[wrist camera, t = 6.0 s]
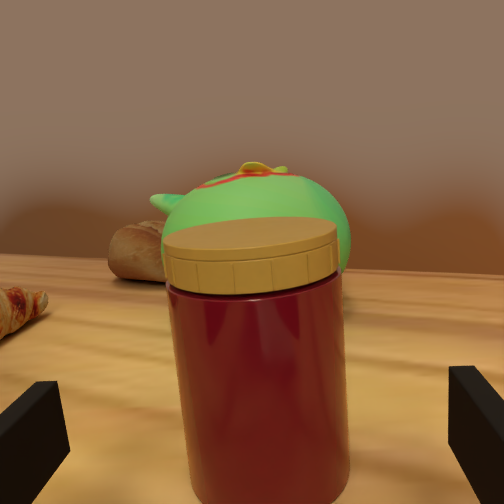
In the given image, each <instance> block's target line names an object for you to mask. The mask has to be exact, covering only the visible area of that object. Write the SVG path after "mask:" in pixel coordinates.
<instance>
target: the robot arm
mask: <svg viewBox="0 0 504 504" xmlns="http://www.w3.org/2000/svg"><path fill="white" fill-rule="evenodd" d="M448 444H449V446H450V447H451V449H452V451H453V453H454V455H455V457H456V459H457V460H458V462H459V464H460V466H461V468H462V470H463V472H464V473H465V475H466V477H467V479H468V481H469V483H470V485H471V486H472V488H473V490H474V492H475V494H476V496H477V498H478V500H479V501H480V503H481V504H504V400H503V399H502V398H501V397H500V395H499V394H498V393H497V392H496V391H495V390H494V388H493V387H492V386H491V385H490V384H489V383H488V381H487V380H486V379H485V378H484V377H483V376H482V374H481V373H480V372H479V371H478V370H477V369H476V367H475V366H449V405H448ZM69 452H70V446H69V441H68V436H67V430H66V425H65V420H64V415H63V409H62V404H61V399H60V393H59V388H58V383H57V381H40V382H35V383H34V384H33V385H32V386H31V387H30V388H29V389H28V390H26V391H25V392H24V393H23V394H22V395H21V396H20V397H19V398H18V399H16V400H15V401H14V402H13V403H12V404H11V405H10V406H9V407H8V408H7V409H5V410H4V411H3V412H2V413H1V414H0V504H32V502H33V501H34V500H35V498H36V497H37V496H38V494H39V493H40V491H41V490H42V489H43V487H44V486H45V485H46V483H47V482H48V481H49V479H50V478H51V477H52V475H53V474H54V472H55V471H56V470H57V468H58V467H59V466H60V464H61V463H62V462H63V460H64V459H65V458H66V456H67V455H68V454H69Z"/></svg>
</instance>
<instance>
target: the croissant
mask: <svg viewBox="0 0 504 504" xmlns="http://www.w3.org/2000/svg"><path fill="white" fill-rule="evenodd" d="M47 304H48V296H47V294H46V293H45V292H44V291H40V292H37V293H35V292H33V291H29V290H27V289H24V288H20V287H14V288H12V289H8V290H7V289H2V288H0V340H1V339H2V338H3V337H4V336H5V335H6V334H8V333H13V332H15V331H16V330H17V329H19V328H20V327H21V326H22V325H23V324H25V323H26V322H27V320H31V319H34V318H36V317H37V316H38V315H39V314H41V313H42V312H43V311H44V310H45V308H46V306H47Z"/></svg>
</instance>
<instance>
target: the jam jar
mask: <svg viewBox="0 0 504 504" xmlns="http://www.w3.org/2000/svg"><path fill="white" fill-rule="evenodd" d="M166 292H167V299H168V307H169V315H170V323H171V331H172V338H173V346H174V354H175V362H176V369H177V377H178V385H179V393H180V401H181V408H182V416H183V424H184V432H185V439H186V447H187V455H188V463H189V471H190V478H191V484H192V487H193V490H194V492H195V494H196V495H197V497H198V498H199V499H200V501H201V502H202V503H203V504H331V503H332V502H333V501H334V500H335V499H336V498H337V497H338V496H339V494H340V493H341V492H342V490H343V489H344V487H345V485H346V483H347V480H348V477H349V472H350V460H349V437H348V414H347V391H346V368H345V344H344V321H343V298H342V275H341V268H340V266H339V265H338V268H337V270H336V271H335V272H334V273H332V274H331V275H329V276H327V277H325V278H323V279H321V280H318V281H315V282H313V283H309V284H306V285H302V286H298V287H294V288H289V289H284V290H278V291H271V292H263V293H252V294H229V295H227V294H205V293H196V292H191V291H186V290H182V289H179V288H177V287H174V286H173V285H171V284H170V283H169V281H168V280H167V282H166Z"/></svg>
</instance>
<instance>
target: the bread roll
mask: <svg viewBox="0 0 504 504" xmlns="http://www.w3.org/2000/svg"><path fill="white" fill-rule="evenodd" d="M165 223H166V222H162V221H145V222H142V223H140V224H131V225H127V226H126V227H124V228H121V229H119V230H118V231H117V232H116V233H115V234H114V236H113V237H112V239H111V243H110V247H109V254H108V266H109V268H110V270H111V271H112V272H113V273H114V274H115V275H116V276H117V277H119V278H124V279H125V278H128V279H139V280H150V281H160V282H167V280H168V278H165V271H164V266H163V262H162V256H161V239H162V233H163V229H164V226H165Z"/></svg>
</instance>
